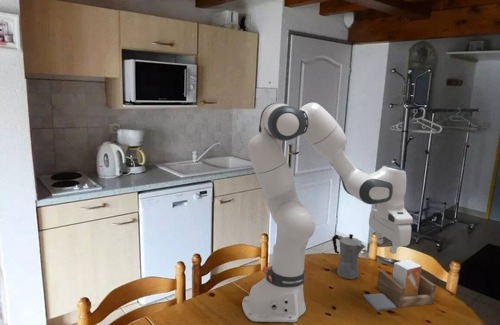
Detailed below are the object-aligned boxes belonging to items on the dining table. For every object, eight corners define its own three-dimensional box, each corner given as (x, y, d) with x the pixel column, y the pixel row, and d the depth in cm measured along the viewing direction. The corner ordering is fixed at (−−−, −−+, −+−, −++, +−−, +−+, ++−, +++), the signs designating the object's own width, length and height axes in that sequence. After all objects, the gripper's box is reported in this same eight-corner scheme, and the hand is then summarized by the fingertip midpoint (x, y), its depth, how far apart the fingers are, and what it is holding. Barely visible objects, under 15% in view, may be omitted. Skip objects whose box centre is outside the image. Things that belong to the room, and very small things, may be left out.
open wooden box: (398, 307, 131) (400, 288, 129) (377, 287, 144) (379, 270, 143) (433, 303, 134) (435, 285, 133) (409, 284, 147) (411, 267, 146)
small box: (403, 302, 134) (407, 269, 132) (389, 293, 140) (393, 262, 138) (418, 297, 138) (422, 265, 136) (404, 289, 144) (408, 258, 141)
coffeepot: (367, 276, 153) (371, 236, 149) (355, 283, 146) (359, 242, 143) (335, 263, 164) (339, 226, 160) (323, 269, 157) (327, 230, 154)
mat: (376, 310, 128) (376, 308, 128) (363, 296, 137) (363, 294, 137) (396, 308, 130) (396, 306, 130) (382, 295, 139) (382, 293, 138)
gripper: (366, 202, 136) (363, 237, 139) (399, 221, 117) (394, 260, 119) (381, 202, 138) (377, 236, 140) (416, 220, 118) (411, 259, 121)
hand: (385, 247), depth 130 cm, fingers open, 7 cm apart
